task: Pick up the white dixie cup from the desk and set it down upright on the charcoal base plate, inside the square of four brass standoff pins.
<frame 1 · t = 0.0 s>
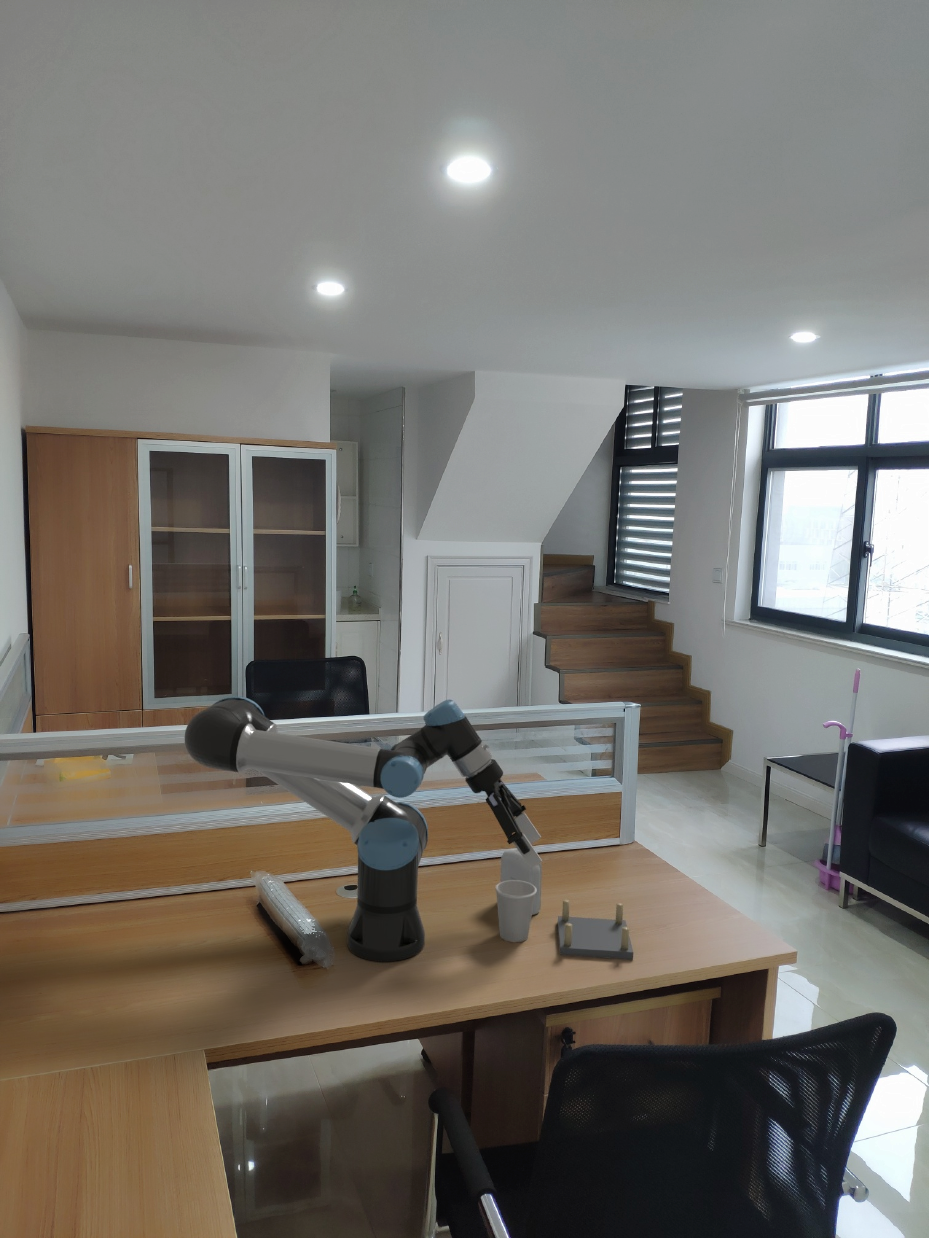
hand: (536, 852, 182), 15 cm above the table, tool tilted 35°, fingers open, 13 cm apart
dixie cup: (514, 936, 178), on the table
photo printer: (519, 907, 192), on the table
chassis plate: (593, 940, 177), on the table
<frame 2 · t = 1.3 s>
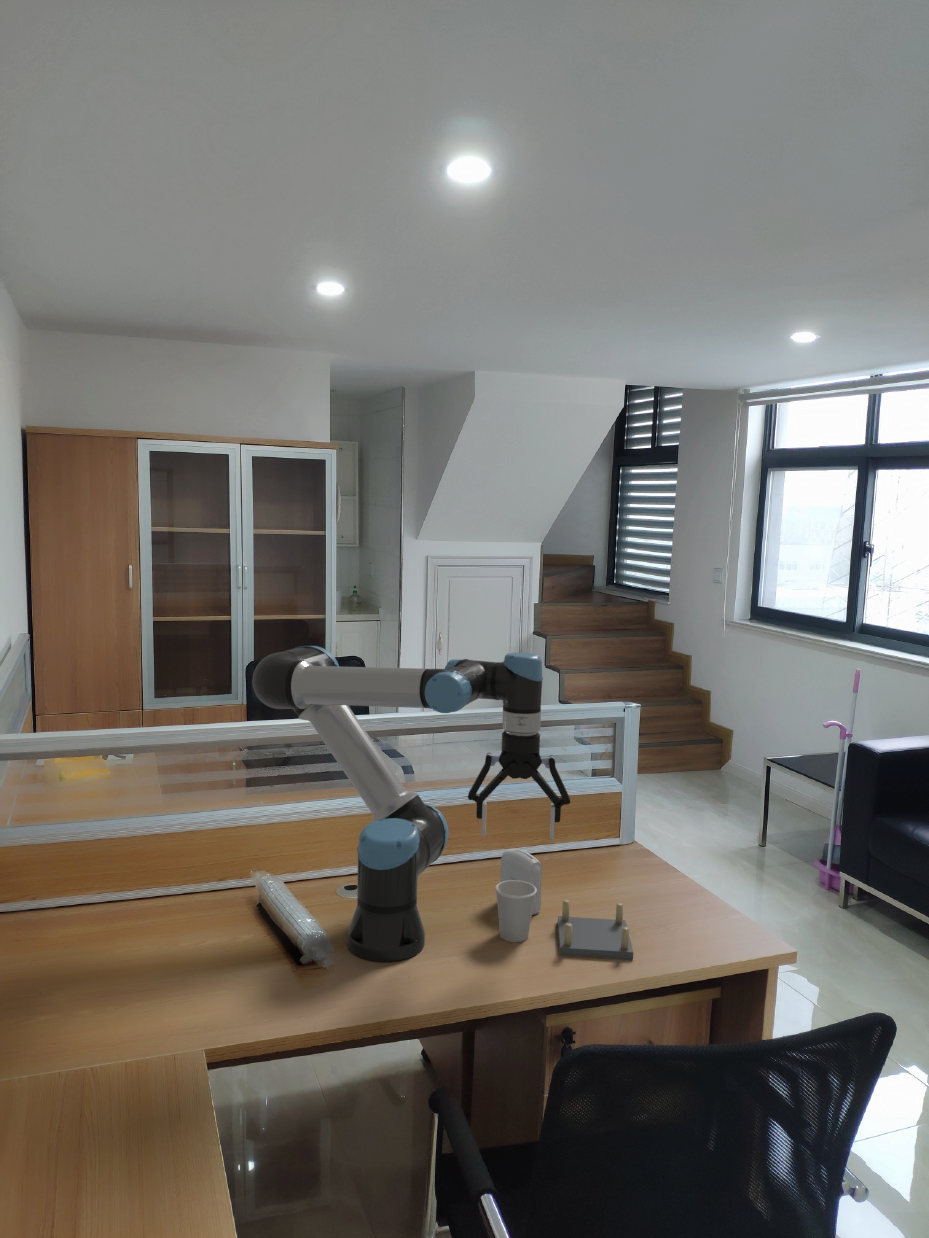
hand: (517, 835, 176), 21 cm above the table, tool pointing down, fingers open, 13 cm apart
nothing on the table moved.
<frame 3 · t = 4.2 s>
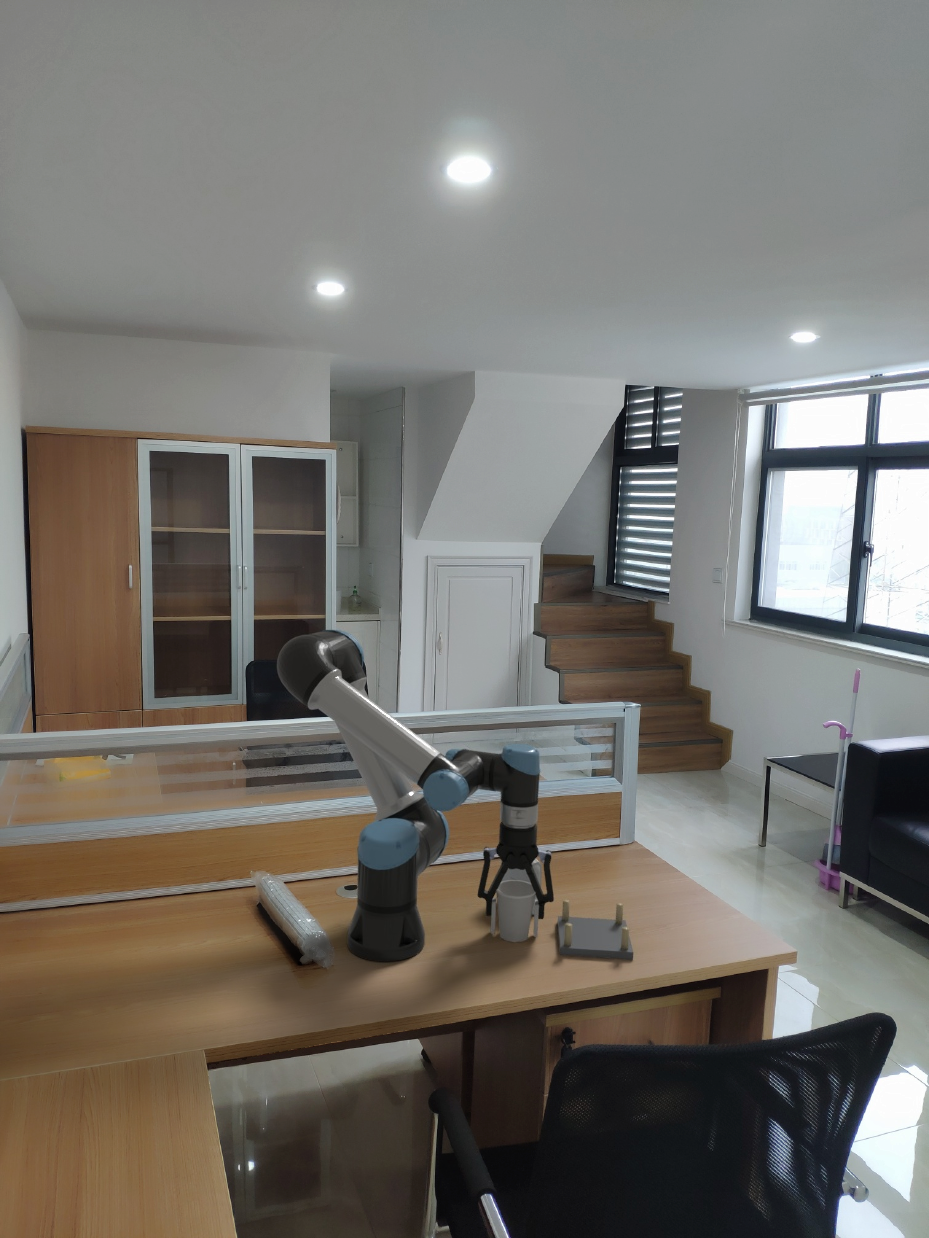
hand: (514, 931, 178), 1 cm above the table, tool pointing down, fingers closed on dixie cup, 8 cm apart
dixie cup: (513, 936, 178), on the table, touching gripper
everything else where it was.
when the fingers open (4 cm above the table, at t = 10.1 s): dixie cup drops 1 cm, resting on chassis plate.
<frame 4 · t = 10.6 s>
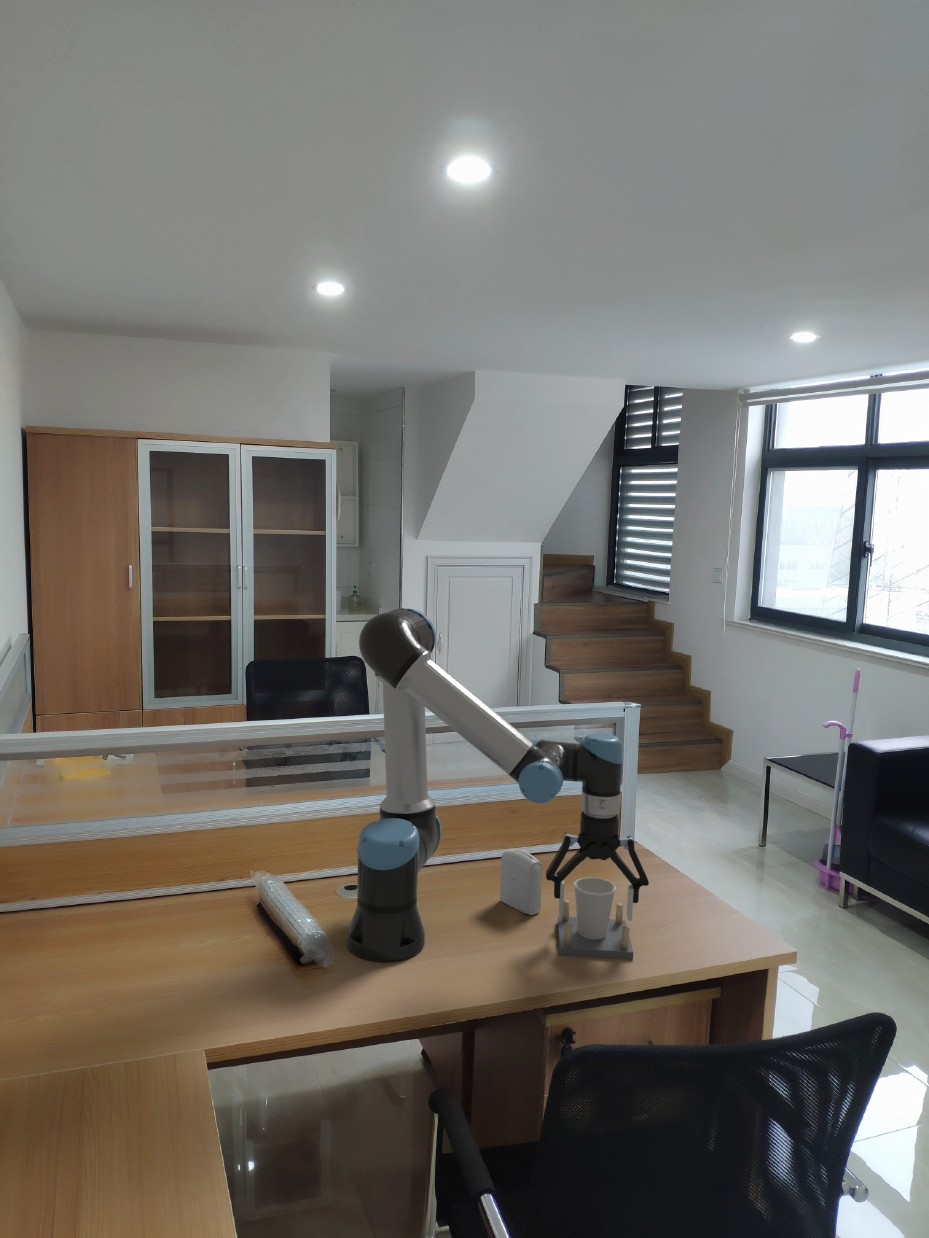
hand: (594, 915, 176), 5 cm above the table, tool pointing down, fingers open, 13 cm apart
dixie cup: (592, 934, 177), point 1 cm above the table, touching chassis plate
everything else where it was.
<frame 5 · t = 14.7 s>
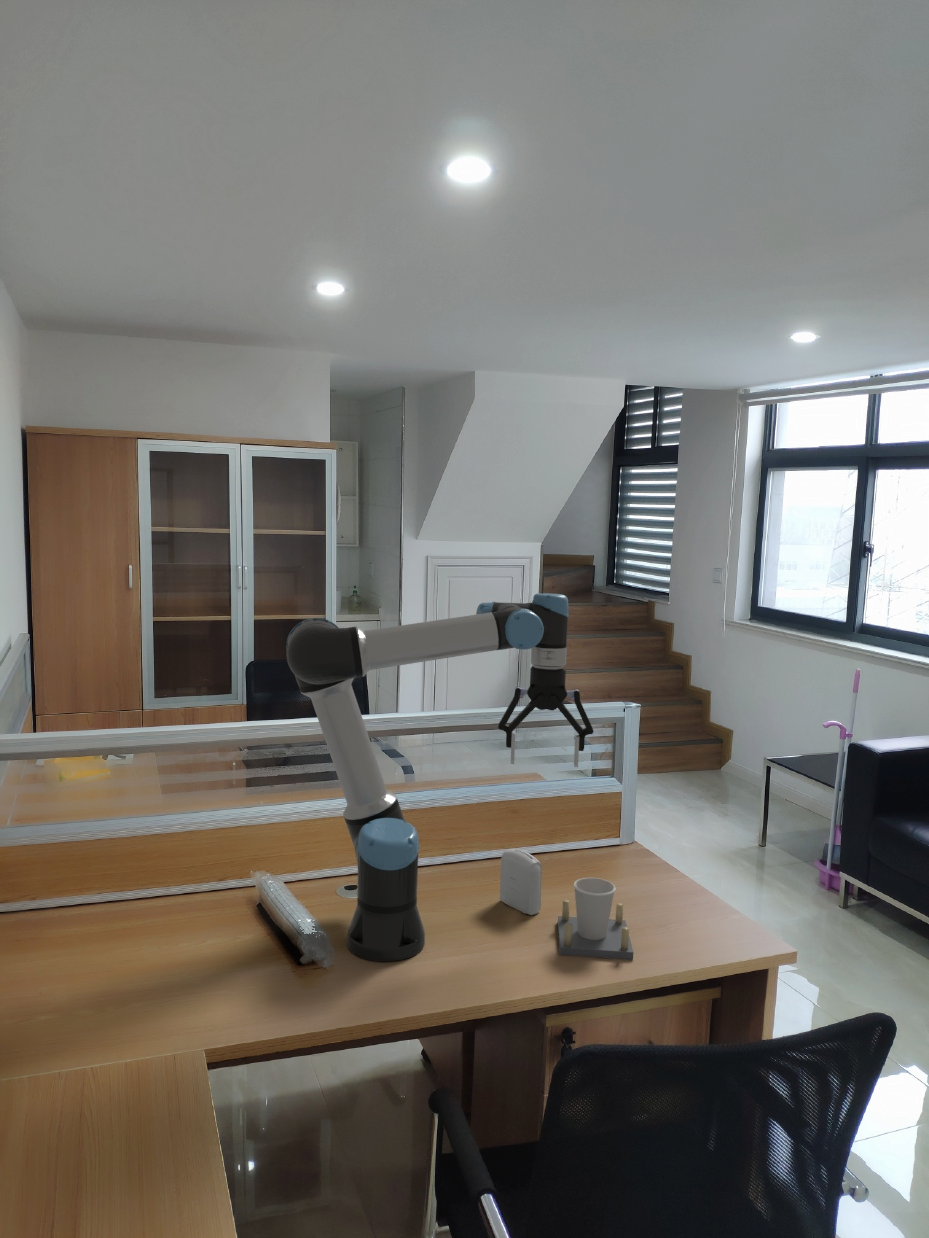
hand: (544, 764, 189), 32 cm above the table, tool pointing down, fingers open, 13 cm apart
nothing on the table moved.
at the end: dixie cup 0.4 cm off-centre on the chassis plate, point 1.3 cm above the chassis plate's base; dixie cup tilted 0°; the gripper is holding nothing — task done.
